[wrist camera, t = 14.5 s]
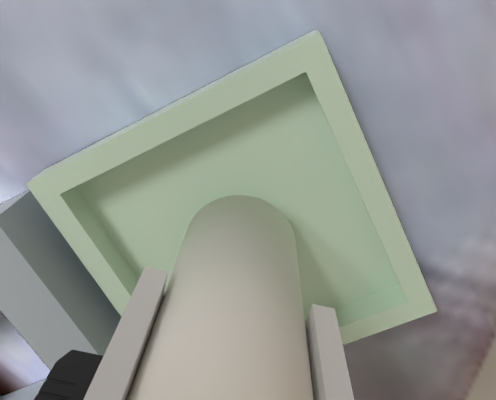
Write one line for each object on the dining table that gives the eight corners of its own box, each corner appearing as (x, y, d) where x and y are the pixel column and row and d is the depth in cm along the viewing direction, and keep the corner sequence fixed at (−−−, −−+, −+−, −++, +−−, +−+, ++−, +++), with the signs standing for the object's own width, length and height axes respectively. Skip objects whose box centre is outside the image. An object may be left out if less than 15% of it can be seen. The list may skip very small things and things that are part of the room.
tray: (46, 167, 21) (25, 183, 19) (315, 29, 18) (320, 32, 16) (189, 373, 25) (183, 402, 23) (423, 286, 23) (437, 311, 21)
